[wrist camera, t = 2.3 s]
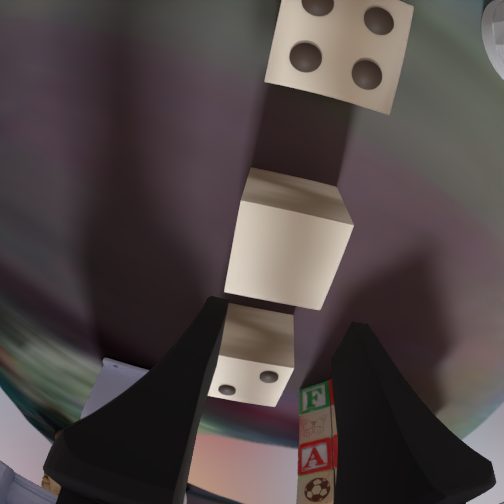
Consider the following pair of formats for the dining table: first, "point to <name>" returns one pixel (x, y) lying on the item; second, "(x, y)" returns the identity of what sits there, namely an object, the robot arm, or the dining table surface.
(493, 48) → the cup
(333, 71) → the dotted block
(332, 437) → the stack of blocks
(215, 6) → the dining table surface
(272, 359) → the dotted block
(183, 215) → the dining table surface
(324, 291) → the plain block
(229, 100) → the dining table surface
